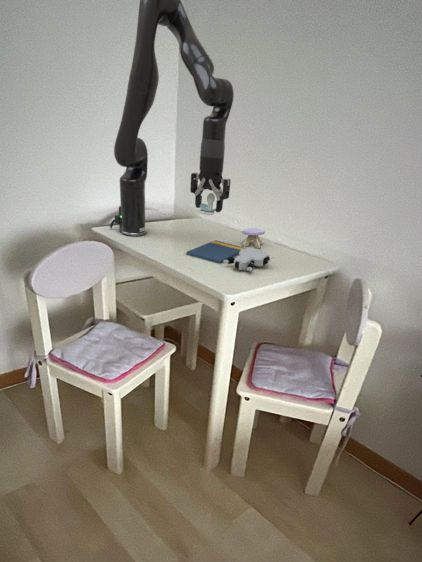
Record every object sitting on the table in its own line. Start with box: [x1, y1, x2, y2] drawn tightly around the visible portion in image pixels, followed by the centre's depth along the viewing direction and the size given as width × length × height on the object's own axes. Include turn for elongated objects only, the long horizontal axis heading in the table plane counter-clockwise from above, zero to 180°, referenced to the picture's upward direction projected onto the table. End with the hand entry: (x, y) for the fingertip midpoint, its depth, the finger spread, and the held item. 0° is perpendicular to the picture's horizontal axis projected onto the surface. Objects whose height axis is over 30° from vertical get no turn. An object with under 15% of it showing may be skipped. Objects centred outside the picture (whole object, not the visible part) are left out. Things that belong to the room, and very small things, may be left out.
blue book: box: [186, 240, 245, 264], centre depth 156 cm, size 14×20×1 cm
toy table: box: [241, 227, 266, 249], centre depth 166 cm, size 10×9×6 cm
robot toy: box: [222, 246, 275, 272], centre depth 144 cm, size 12×4×15 cm
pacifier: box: [197, 192, 216, 216], centre depth 142 cm, size 7×6×6 cm
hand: (208, 209), depth 143 cm, fingers closed on pacifier, 7 cm apart
